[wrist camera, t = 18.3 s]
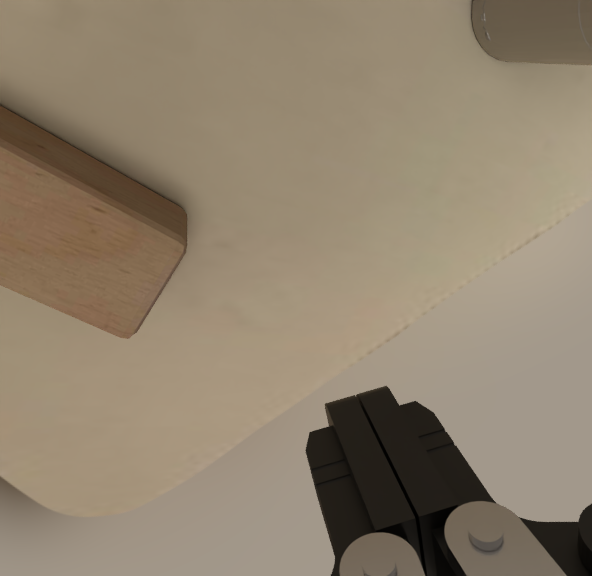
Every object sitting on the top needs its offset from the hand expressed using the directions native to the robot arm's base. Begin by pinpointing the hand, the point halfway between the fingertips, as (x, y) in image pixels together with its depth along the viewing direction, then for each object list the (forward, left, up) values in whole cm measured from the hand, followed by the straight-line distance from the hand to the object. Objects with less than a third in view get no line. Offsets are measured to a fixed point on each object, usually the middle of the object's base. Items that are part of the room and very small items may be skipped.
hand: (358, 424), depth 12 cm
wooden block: (+9, +8, -34) cm, 36 cm away
